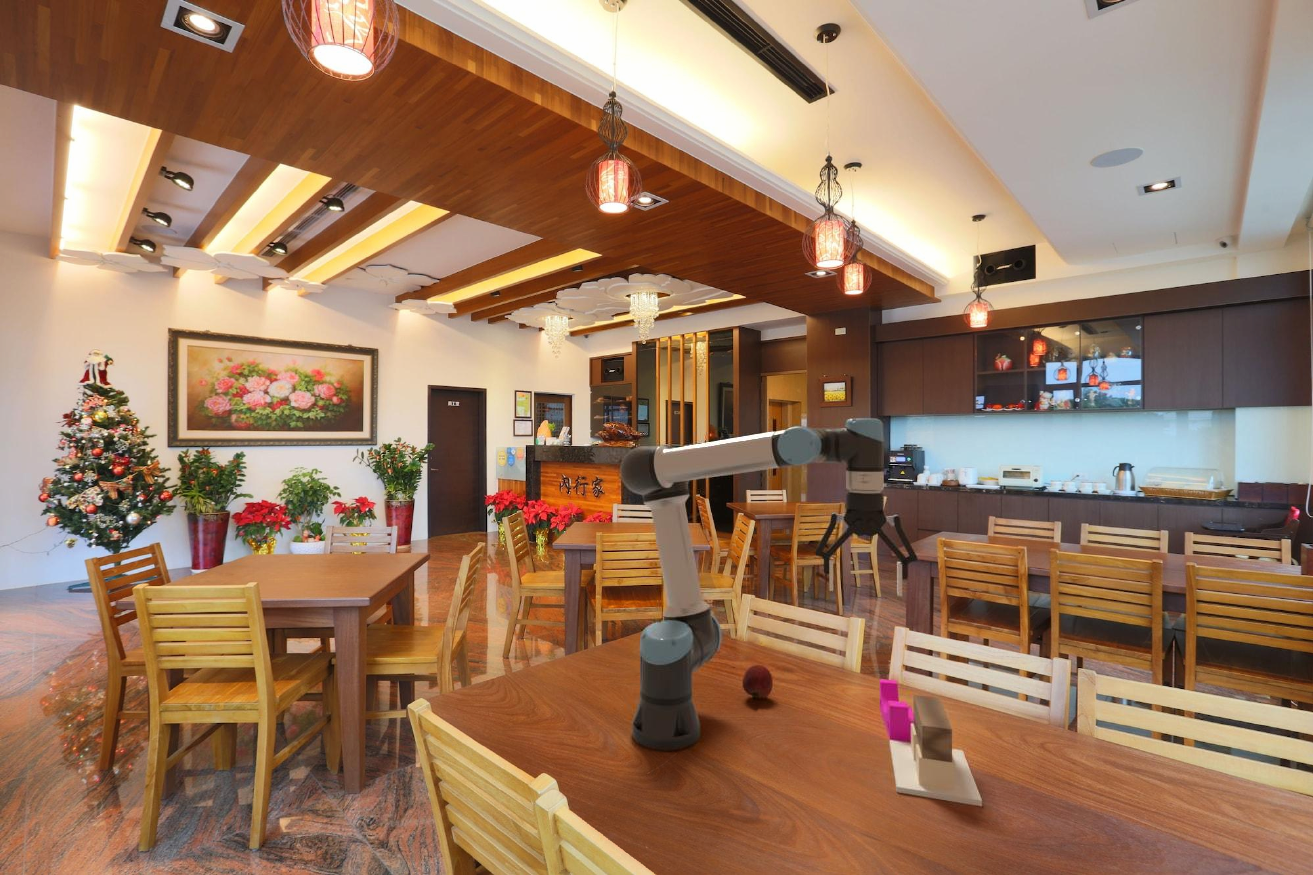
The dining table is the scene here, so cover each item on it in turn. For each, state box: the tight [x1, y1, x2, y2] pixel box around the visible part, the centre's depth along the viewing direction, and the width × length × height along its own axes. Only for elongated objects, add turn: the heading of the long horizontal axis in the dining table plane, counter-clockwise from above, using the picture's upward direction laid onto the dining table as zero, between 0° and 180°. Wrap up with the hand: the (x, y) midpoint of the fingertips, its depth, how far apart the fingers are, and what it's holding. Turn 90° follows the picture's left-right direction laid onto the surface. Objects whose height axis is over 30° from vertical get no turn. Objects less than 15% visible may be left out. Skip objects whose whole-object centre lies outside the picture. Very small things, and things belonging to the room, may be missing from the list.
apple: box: [742, 664, 774, 699], centre depth 149 cm, size 7×8×8 cm
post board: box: [889, 723, 983, 807], centre depth 115 cm, size 14×18×6 cm
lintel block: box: [913, 694, 953, 762], centre depth 115 cm, size 5×14×6 cm, turn 162°
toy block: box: [879, 678, 914, 743], centre depth 134 cm, size 15×6×8 cm, turn 167°
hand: (864, 592), depth 125 cm, fingers open, 13 cm apart
